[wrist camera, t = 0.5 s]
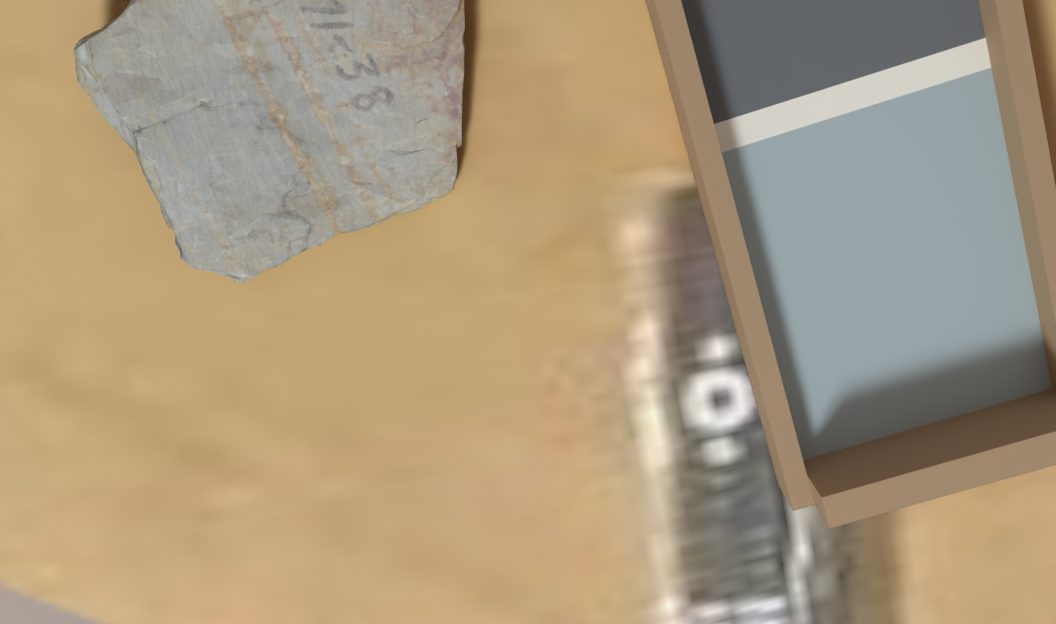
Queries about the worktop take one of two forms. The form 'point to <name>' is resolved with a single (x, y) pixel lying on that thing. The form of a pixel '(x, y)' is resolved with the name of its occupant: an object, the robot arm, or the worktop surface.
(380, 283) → the worktop surface
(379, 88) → the stone
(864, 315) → the lane
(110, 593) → the worktop surface
